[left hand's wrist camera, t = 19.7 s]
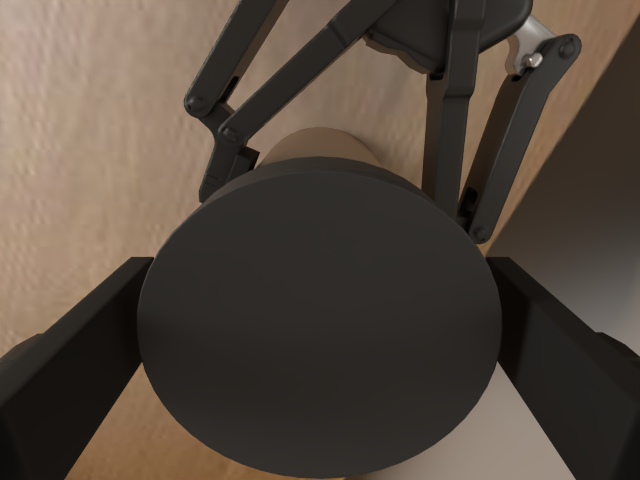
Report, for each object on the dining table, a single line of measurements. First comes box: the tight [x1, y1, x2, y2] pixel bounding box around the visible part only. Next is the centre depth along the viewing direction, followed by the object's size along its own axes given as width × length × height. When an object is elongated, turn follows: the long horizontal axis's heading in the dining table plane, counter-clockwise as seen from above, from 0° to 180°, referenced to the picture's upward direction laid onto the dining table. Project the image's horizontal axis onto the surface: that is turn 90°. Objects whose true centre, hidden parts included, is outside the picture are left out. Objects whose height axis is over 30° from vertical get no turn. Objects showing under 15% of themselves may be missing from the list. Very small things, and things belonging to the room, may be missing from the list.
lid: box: [137, 156, 502, 479], centre depth 11 cm, size 10×10×2 cm
